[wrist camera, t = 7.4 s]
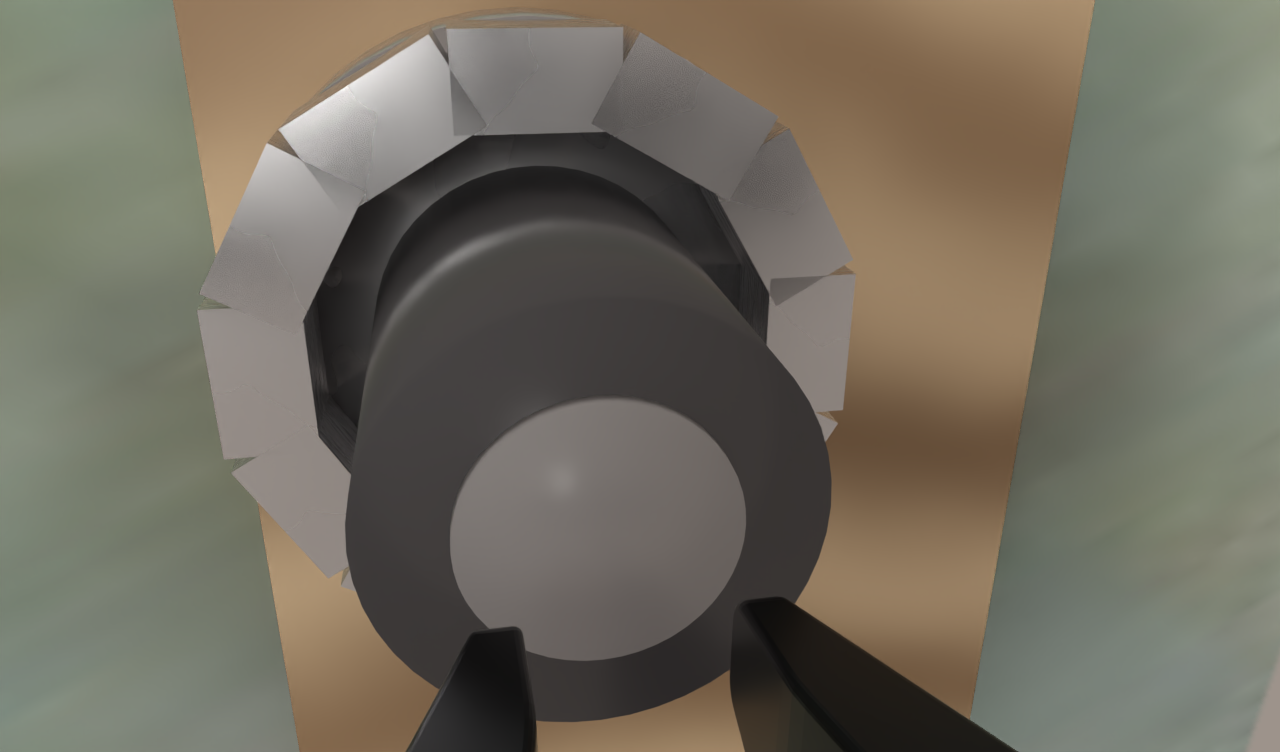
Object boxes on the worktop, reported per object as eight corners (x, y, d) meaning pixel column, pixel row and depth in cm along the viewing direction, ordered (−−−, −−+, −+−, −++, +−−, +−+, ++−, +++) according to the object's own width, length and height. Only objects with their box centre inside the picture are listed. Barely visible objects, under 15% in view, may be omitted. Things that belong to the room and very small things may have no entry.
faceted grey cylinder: (765, 494, 20) (827, 597, 17) (287, 539, 18) (257, 662, 15) (796, 5, 16) (883, 21, 13) (202, 8, 15) (141, 26, 12)
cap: (691, 454, 17) (818, 703, 11) (390, 480, 16) (370, 764, 11) (700, 160, 15) (860, 288, 10) (358, 170, 14) (312, 320, 9)
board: (946, 713, 25) (965, 743, 24) (319, 800, 22) (314, 836, 21) (1074, -84, 18) (1109, -86, 17) (173, -94, 15) (156, -97, 14)
